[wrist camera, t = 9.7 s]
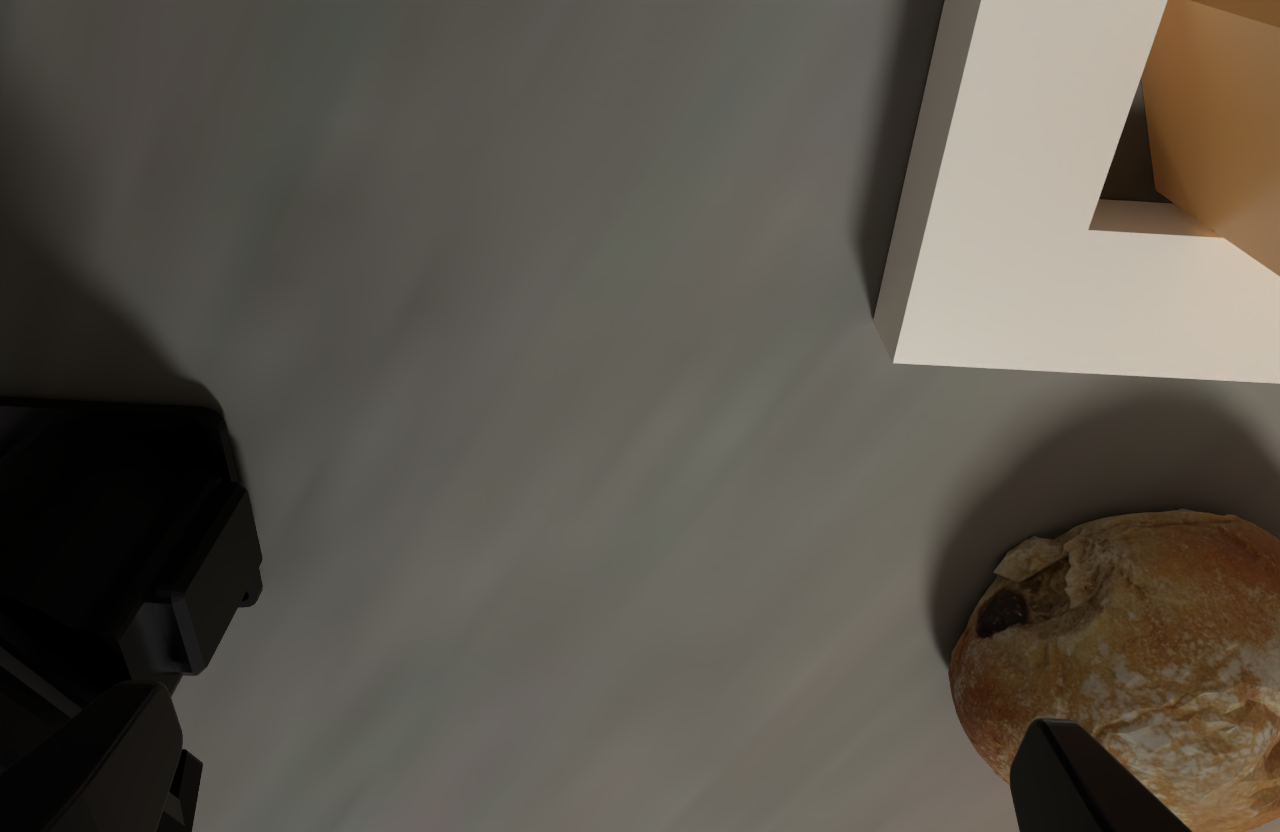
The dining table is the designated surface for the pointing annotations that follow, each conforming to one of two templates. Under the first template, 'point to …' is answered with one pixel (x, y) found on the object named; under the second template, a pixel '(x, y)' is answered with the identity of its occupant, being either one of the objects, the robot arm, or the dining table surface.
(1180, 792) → the bread roll
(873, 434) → the dining table surface
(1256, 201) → the plug
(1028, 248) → the socket plate
